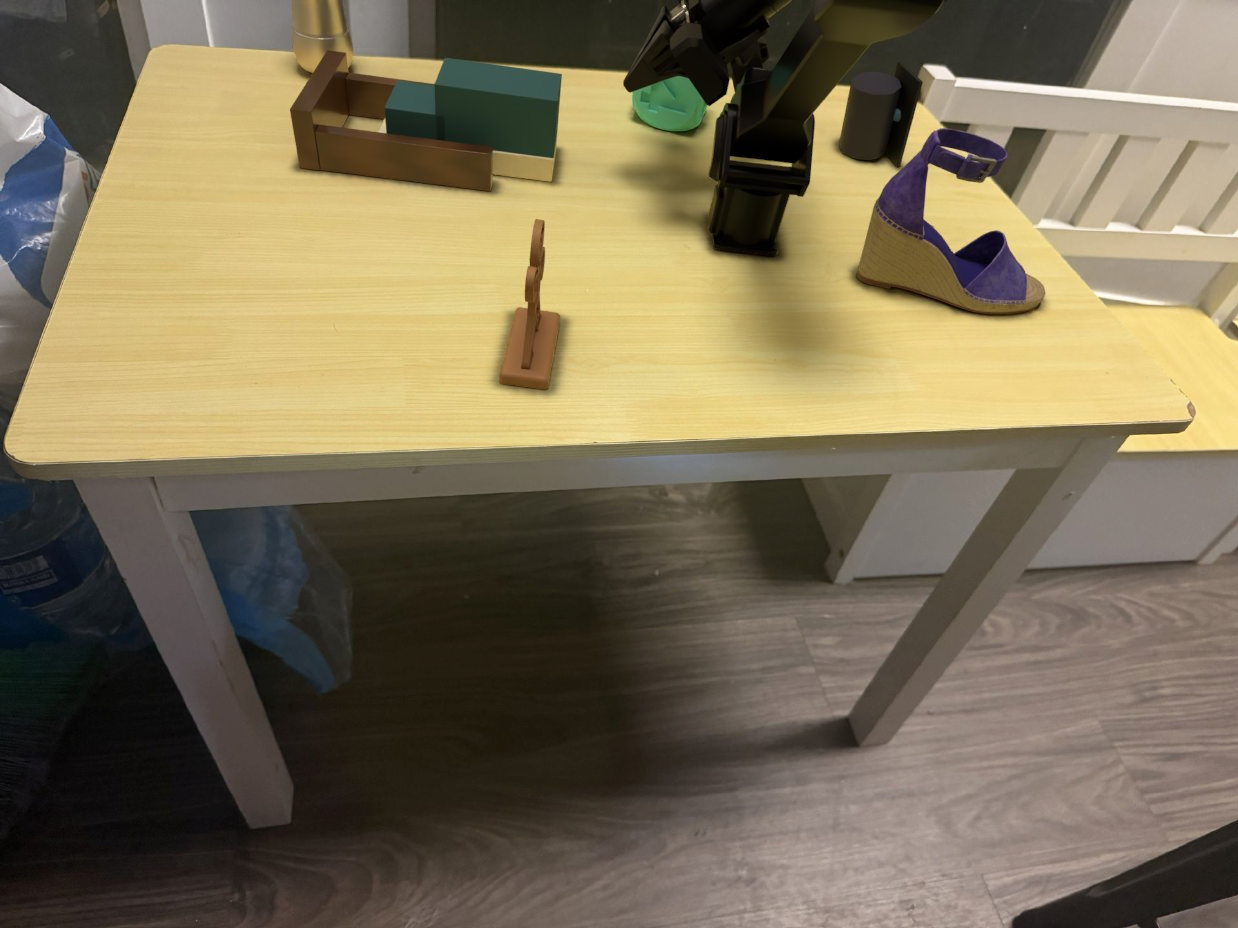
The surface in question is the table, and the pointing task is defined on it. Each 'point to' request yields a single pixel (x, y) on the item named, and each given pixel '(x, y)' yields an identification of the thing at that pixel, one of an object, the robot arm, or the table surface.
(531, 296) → the gingerbread man figurine
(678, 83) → the decorative dice
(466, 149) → the wooden bed frame
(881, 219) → the sandal
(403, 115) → the teal stepped block
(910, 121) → the speaker
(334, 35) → the gold rounded cylinder
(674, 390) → the table surface
